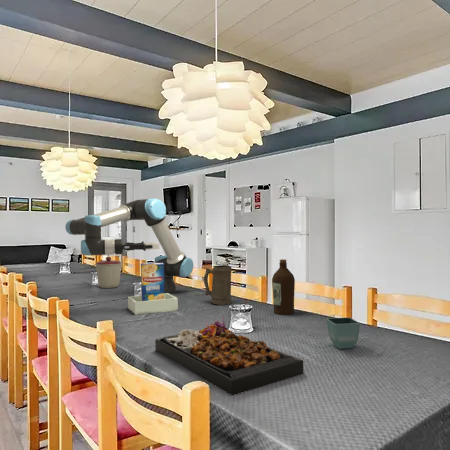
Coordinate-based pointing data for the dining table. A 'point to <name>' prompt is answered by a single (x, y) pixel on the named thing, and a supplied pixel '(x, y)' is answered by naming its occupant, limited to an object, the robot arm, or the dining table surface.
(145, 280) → the beverage box
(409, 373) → the dining table surface
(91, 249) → the robot arm
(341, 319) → the flower pot
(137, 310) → the box
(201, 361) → the food platter
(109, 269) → the canister
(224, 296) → the beer stein
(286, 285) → the brown bottle
